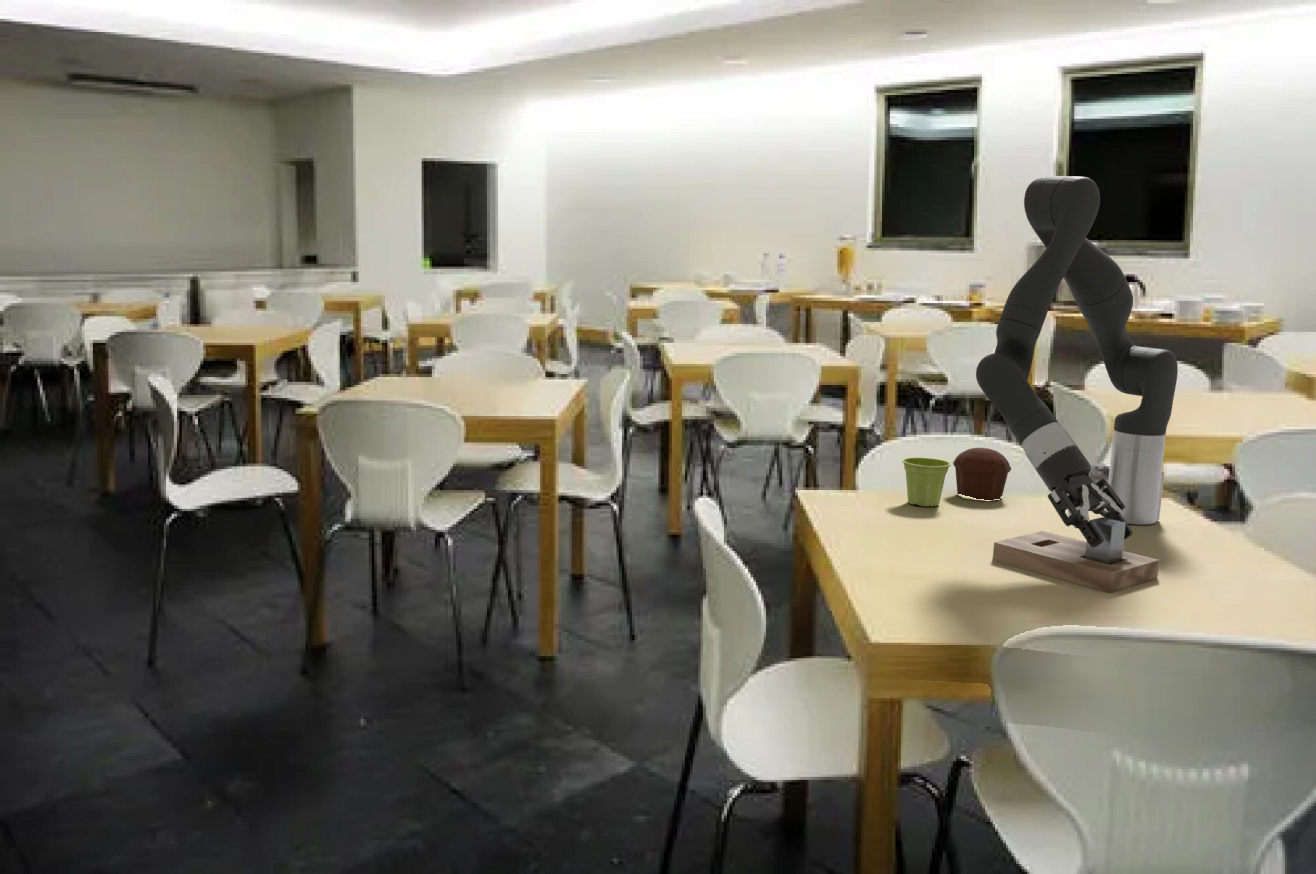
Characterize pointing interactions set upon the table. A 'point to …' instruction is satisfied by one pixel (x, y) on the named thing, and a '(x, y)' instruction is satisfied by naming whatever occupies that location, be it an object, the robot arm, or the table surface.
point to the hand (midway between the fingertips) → (1113, 540)
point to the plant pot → (925, 480)
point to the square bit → (1107, 541)
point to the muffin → (981, 473)
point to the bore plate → (1073, 561)
